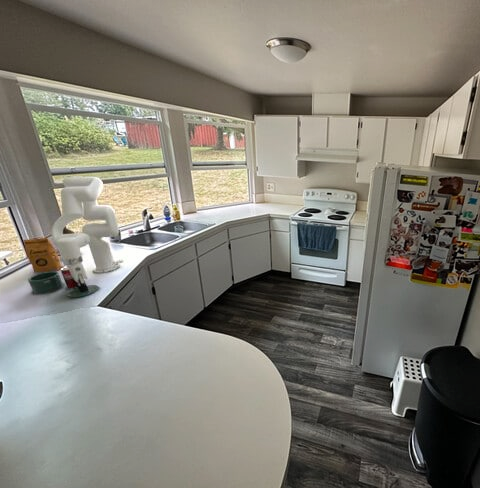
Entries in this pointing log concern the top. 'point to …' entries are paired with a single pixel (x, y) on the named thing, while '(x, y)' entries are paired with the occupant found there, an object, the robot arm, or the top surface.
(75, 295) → the lid
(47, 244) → the coffee package
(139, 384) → the top surface
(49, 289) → the pot
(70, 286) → the soda can
